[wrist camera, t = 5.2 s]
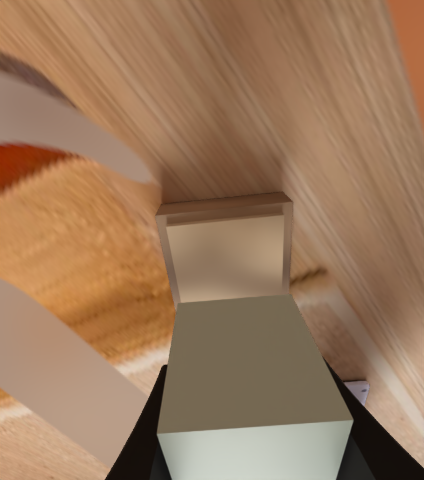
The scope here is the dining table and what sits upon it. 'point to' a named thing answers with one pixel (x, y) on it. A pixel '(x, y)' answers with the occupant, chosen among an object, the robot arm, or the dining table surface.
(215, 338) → the sage block
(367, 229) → the dining table surface
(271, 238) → the plinth
